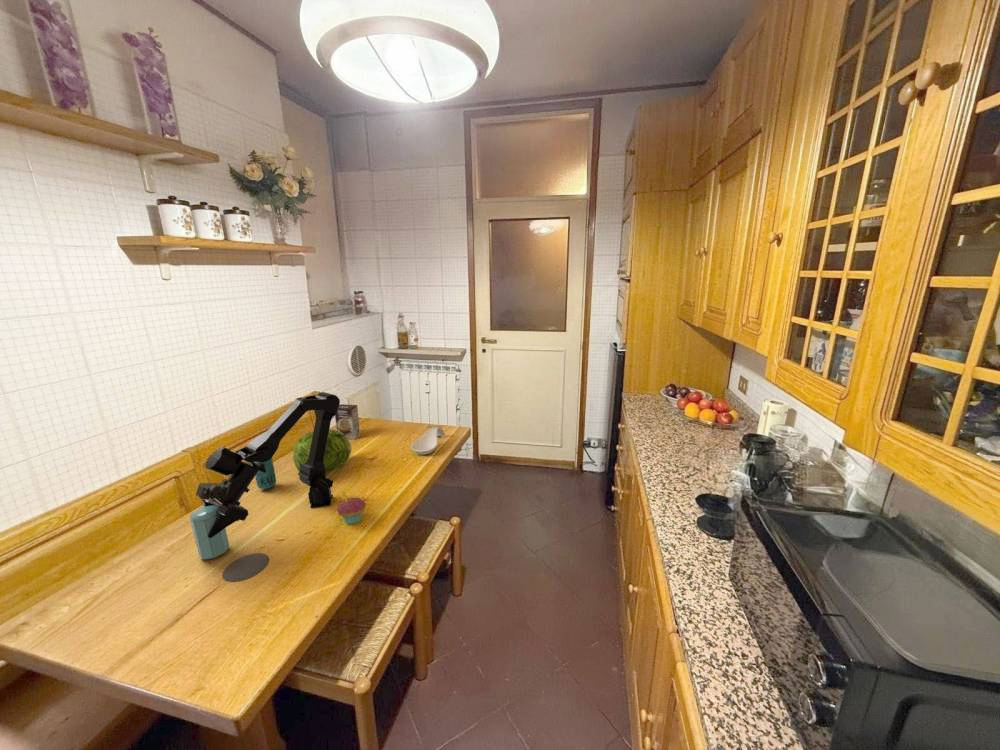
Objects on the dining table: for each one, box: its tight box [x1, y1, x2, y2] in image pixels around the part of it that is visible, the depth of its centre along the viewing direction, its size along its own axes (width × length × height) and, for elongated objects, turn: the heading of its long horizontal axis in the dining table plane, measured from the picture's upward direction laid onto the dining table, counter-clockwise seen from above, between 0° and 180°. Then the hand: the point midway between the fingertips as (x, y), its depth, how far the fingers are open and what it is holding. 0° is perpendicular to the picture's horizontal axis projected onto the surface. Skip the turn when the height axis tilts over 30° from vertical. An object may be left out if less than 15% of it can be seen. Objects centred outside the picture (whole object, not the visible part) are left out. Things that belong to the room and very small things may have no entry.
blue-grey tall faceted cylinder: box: [189, 505, 230, 560], centre depth 113 cm, size 7×7×13 cm
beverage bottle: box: [254, 457, 277, 490], centre depth 149 cm, size 6×7×20 cm
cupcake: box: [336, 487, 367, 525], centre depth 129 cm, size 9×8×12 cm
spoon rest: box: [410, 426, 446, 456], centre depth 184 cm, size 24×12×7 cm, turn 166°
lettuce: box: [292, 429, 352, 473], centre depth 164 cm, size 18×23×19 cm
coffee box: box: [334, 403, 361, 440], centre depth 196 cm, size 9×6×16 cm
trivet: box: [221, 552, 270, 583], centre depth 109 cm, size 11×11×1 cm
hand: (204, 533), depth 112 cm, fingers closed on blue-grey tall faceted cylinder, 6 cm apart
